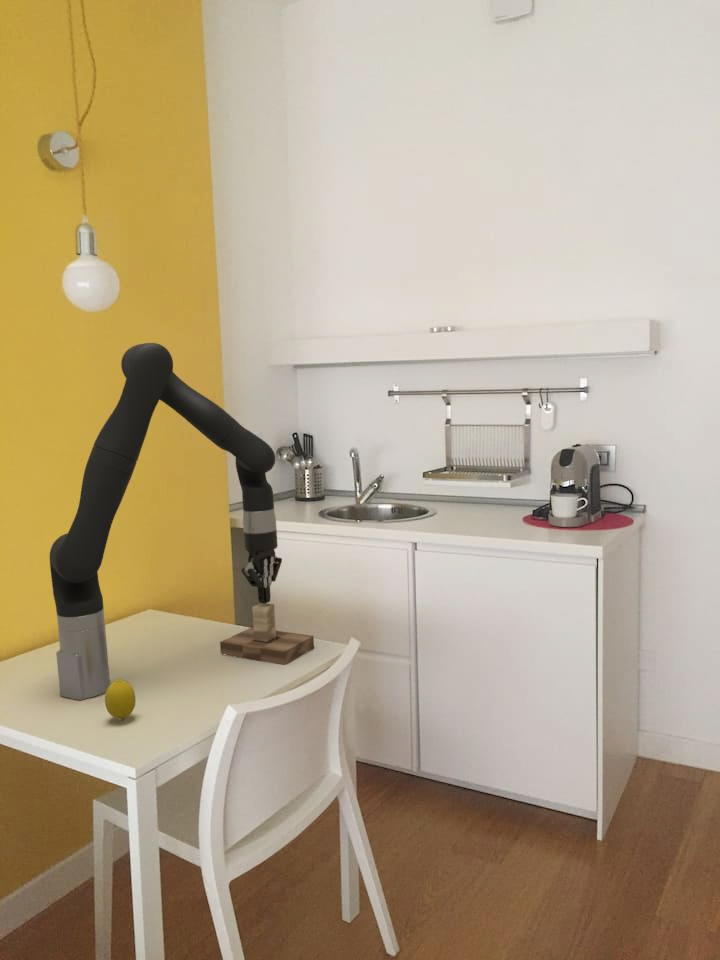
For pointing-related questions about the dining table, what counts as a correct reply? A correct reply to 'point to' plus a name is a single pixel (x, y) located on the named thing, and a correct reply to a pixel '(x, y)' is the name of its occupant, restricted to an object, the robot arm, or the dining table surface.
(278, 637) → the walnut board
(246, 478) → the robot arm
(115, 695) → the lemon
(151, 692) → the dining table surface
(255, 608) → the beech peg
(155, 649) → the dining table surface
